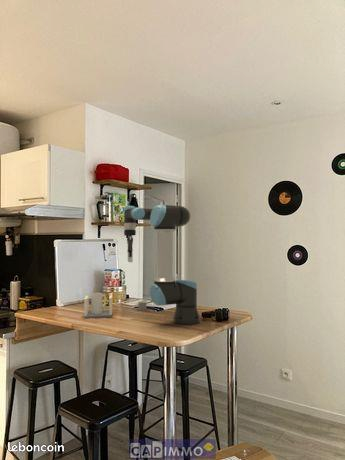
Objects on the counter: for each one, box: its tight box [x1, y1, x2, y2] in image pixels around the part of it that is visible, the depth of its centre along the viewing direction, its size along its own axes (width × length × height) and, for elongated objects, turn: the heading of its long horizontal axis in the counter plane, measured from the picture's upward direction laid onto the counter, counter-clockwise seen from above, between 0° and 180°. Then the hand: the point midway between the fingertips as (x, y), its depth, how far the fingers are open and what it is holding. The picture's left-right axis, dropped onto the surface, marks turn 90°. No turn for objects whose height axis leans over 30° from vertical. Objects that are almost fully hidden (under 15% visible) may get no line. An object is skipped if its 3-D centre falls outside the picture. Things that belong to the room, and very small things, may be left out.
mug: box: [90, 292, 107, 314], centre depth 220 cm, size 10×7×12 cm, turn 131°
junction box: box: [137, 300, 148, 312], centre depth 237 cm, size 6×5×5 cm
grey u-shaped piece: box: [83, 294, 113, 320], centre depth 218 cm, size 14×16×12 cm
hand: (130, 261), depth 237 cm, fingers open, 13 cm apart
